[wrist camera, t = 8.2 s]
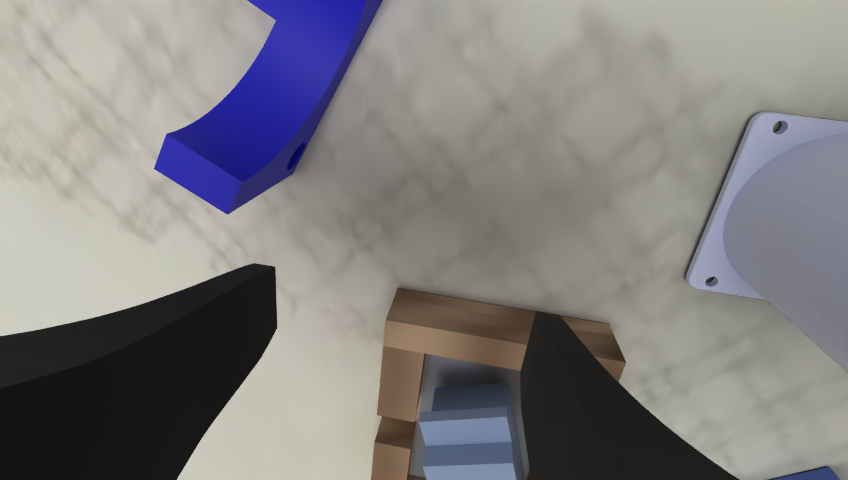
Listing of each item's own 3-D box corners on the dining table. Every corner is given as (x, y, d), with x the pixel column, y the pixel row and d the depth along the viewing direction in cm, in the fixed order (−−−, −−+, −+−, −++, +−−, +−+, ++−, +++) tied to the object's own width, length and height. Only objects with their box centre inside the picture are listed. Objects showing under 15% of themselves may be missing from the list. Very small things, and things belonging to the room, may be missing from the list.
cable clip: (323, -154, 16) (239, -259, 11) (424, -78, 17) (393, -142, 11) (213, 121, 21) (116, 145, 15) (293, 173, 21) (227, 214, 16)
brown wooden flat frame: (609, 324, 22) (626, 362, 19) (546, 504, 28) (552, 553, 25) (398, 288, 23) (385, 319, 20) (379, 470, 29) (368, 513, 26)
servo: (503, 359, 23) (508, 453, 17) (526, 481, 26) (536, 591, 21) (429, 366, 23) (412, 457, 18) (460, 483, 27) (453, 590, 21)
